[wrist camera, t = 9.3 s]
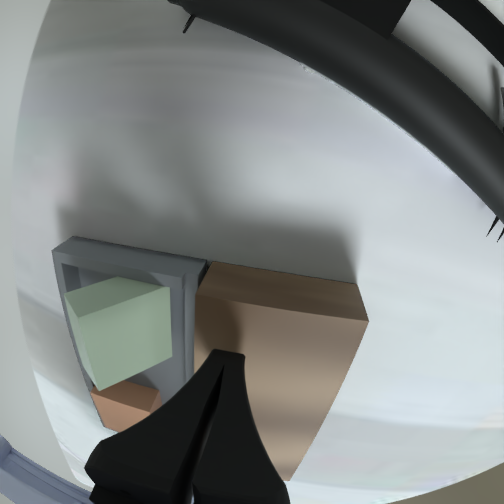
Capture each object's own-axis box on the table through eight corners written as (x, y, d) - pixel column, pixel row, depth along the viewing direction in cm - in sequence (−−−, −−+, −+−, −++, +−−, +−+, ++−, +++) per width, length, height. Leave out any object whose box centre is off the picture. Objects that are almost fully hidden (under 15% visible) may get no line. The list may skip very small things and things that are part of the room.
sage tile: (99, 391, 12) (82, 365, 13) (172, 356, 15) (152, 336, 17) (77, 318, 10) (63, 293, 12) (169, 284, 14) (147, 267, 15)
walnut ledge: (291, 450, 21) (289, 481, 18) (205, 436, 21) (196, 466, 19) (357, 284, 14) (369, 321, 12) (212, 261, 15) (195, 294, 12)
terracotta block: (105, 427, 19) (115, 409, 21) (158, 444, 19) (166, 424, 21) (90, 392, 17) (102, 373, 19) (149, 412, 17) (159, 390, 19)
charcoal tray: (201, 436, 22) (196, 455, 20) (112, 409, 22) (103, 426, 20) (207, 259, 15) (194, 280, 13) (72, 236, 15) (51, 250, 13)
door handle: (324, -163, 2) (134, 16, 8) (607, 59, 4) (532, 281, 10) (320, -133, 5) (165, 38, 11) (576, 60, 7) (498, 255, 13)
